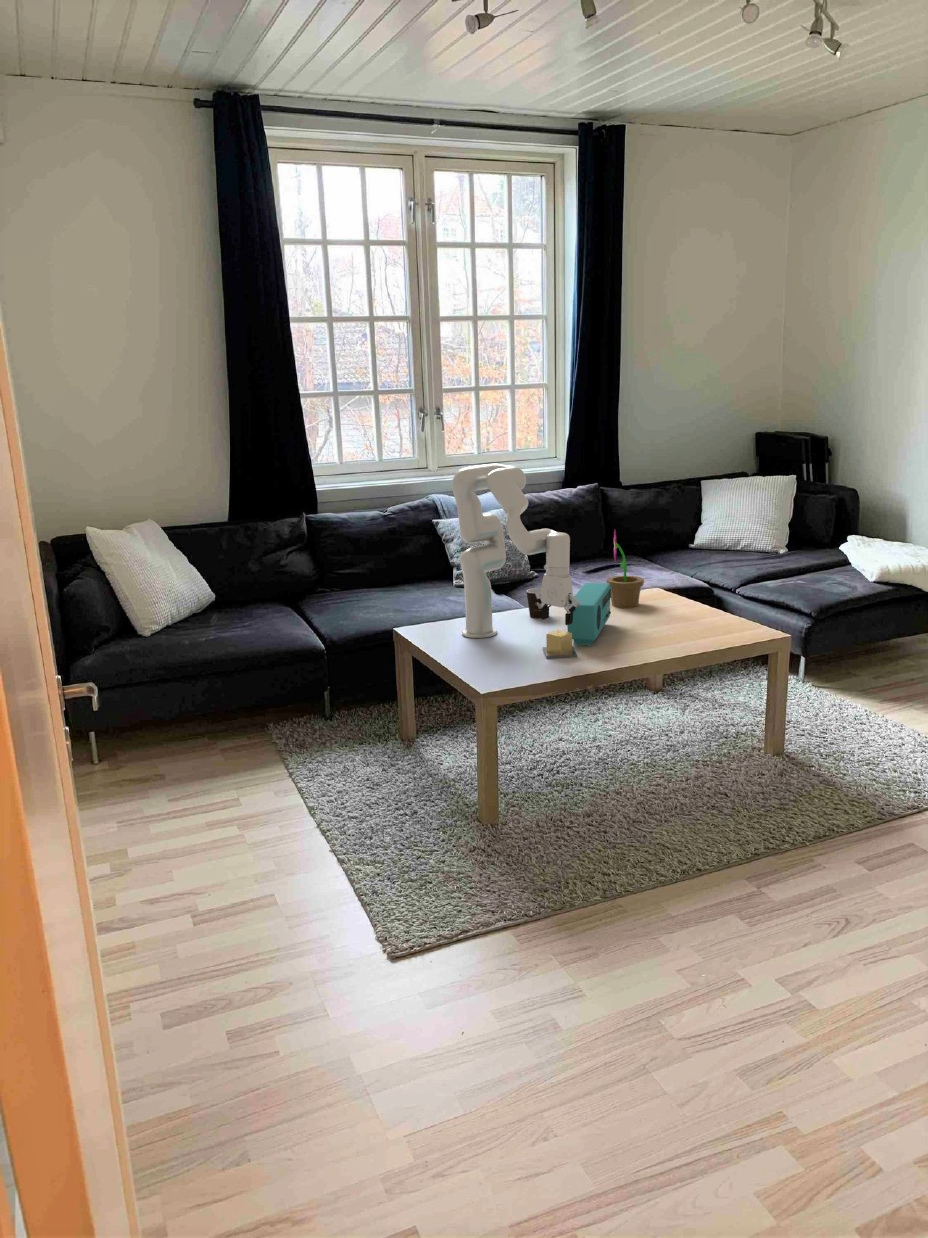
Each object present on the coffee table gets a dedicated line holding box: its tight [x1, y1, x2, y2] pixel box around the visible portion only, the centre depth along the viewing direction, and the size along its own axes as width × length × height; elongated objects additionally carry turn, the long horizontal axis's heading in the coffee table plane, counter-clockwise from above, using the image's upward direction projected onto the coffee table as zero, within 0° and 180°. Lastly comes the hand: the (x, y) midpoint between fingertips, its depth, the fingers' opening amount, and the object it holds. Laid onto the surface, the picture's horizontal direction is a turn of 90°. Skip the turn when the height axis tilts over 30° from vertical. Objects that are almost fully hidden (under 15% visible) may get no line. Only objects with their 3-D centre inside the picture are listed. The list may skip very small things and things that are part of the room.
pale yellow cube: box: [546, 629, 573, 654], centre depth 315 cm, size 6×6×6 cm
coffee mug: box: [525, 587, 552, 619], centre depth 362 cm, size 12×9×10 cm
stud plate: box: [542, 645, 578, 660], centre depth 315 cm, size 10×10×5 cm
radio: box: [566, 582, 612, 647], centre depth 334 cm, size 34×10×15 cm, turn 163°
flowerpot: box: [606, 529, 645, 609], centre depth 371 cm, size 14×14×30 cm
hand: (557, 621), depth 313 cm, fingers open, 9 cm apart
